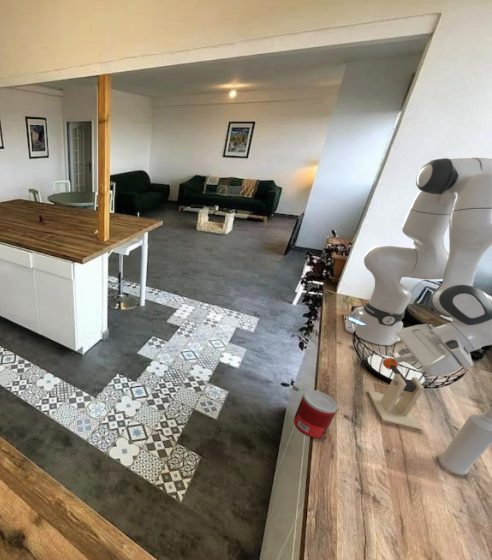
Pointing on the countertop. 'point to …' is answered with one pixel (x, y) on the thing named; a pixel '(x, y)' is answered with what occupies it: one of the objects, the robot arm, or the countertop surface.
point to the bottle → (468, 443)
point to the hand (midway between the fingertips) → (393, 358)
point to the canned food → (315, 413)
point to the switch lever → (393, 365)
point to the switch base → (398, 402)
